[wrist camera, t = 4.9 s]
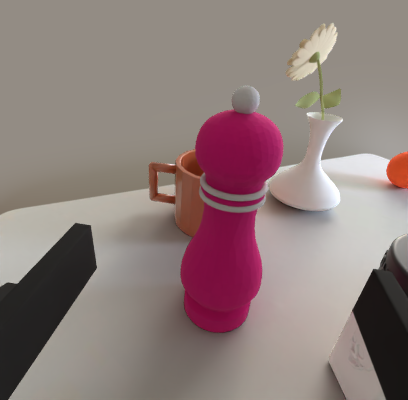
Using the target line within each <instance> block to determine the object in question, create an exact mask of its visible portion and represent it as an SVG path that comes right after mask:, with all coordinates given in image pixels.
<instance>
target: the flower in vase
mask: <svg viewBox="0 0 408 400" xmlns="http://www.w3.org/2000/svg"><path fill="white" fill-rule="evenodd" d="M335 32H336V27H334V23H331V24H330V25H329V26H328V28H327V29H326V28H325V24H322V25H321V26H320V27H319V28H318V29H316V30H315V31H314V33H313V34H312V35H311V37H310V40H307V39H304V40H302V42H301V43H300V49H298V51H297V52H295V53H294V54H293V55H292V58H291V59H289V60H288V62H287V65H292V66H291V67H290V68H289V69H288V70H287V71H286V74H287V76H288V77H292V81H293V80H295V79H296V81H297V80H299V79H301V78H304V77H306V76H307V75H308V73H309V74H311V73H313V72H314V70H315V69H316V68H318V71H319V79H320V95H319V94H318V93H317V92H311V93H309V94H307V95H305V96H303V97H302V98H301V99H300V100H299V101H298V102H297V104H296V105H295V106H297V107H300V108H308V107H310V106H311V105H312V104H314V103H315V102H316V101H317V100H318V99H319V98H320V101H321V109H322V110H321V111H322V113H316V112H311V113H307V118H308V120H309V123H310V139H309V145H308V149H307V152H306V155H305V157H304V160H303V161H302V162H301V163H300V164H298V165H296V166H294V167H292V168H289V169H287V170H285V171H282V172H280V173H279V174H277V175H275V176H274V177H273V178H272V179H271V181H270V182H269V189H270V191H271V193H272V195H273V196H274V197H275V198H276V199H278V200H279V201H281V202H283V203H285V204H287V205H289V206H292V207H295V208H298V209H302V210H308V211H326V210H329V209H332V208H333V207H335V206H336V205H338V204H339V202H340V193H339V191H338V189H337V188H336V186H335V185H334V183H333V182H332V181H331V180H330V179H329V177H328V176H327V175H326V174H325V173H324V171H323V170H322V168H321V165H320V161H321V155H322V152H323V149H324V146H325V144H326V141H327V139H328V137H329V135H330V134H331V132H332V131H333V129H334V128H335V127H336V126H337V125H338V124H339V123H341V122H342V121H343V119H342V118H341V117H338V116H335V115H331V114H326V113H324V108H330V107H334V106H337V105H339V103H340V100H341V89H338V90H336V91H333V92H331V93H329V94H326V95H324V96H323V81H322V72H321V63H322V62H323V61H325V60H326V58H327V54H328V53H329V52H330V51H331V50H332V48H333V45H334V44H335V42H336V40H337V39H335V38H336V37H337V35H338V33H335Z"/></svg>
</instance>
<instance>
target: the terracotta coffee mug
mask: <svg viewBox="0 0 408 400" xmlns="http://www.w3.org/2000/svg"><path fill="white" fill-rule="evenodd" d="M158 172H164V173H172V174H175V195H168V194H161V193H158ZM203 173H204V171H203V170H202V169H201V168H200V166H199V164H198V162H197V159H196V156H195V149H193V150H190V151H186V152H184V153H182V154H180V155H179V156H178V158H177V159H176V163H175V165H172V164H165V163H157V162H151V163H150V164H149V197H150V199H151V200H152V201H157V202H164V203H171V204H174V219H175V222H176V225H177V226H178V227H179V229H180V230H182V231H183V232H184V233H185V234H187V235H189V236H191V237H194V235H195V234H196V232H197V230H198V228H199V226H200V223H201V221H202V216H203V211H204V201H203V200H202V198H201V197H200V194H199V189H200V186H201V184H200V178H201V176H202V174H203Z"/></svg>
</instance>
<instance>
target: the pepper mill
mask: <svg viewBox="0 0 408 400" xmlns="http://www.w3.org/2000/svg"><path fill="white" fill-rule="evenodd" d="M259 101H260V97H259V93H258V92H257V90H256V89H254V88H253V87H251V86H242V87H239V88H238V89H237V90H236V91H235V92H234V94H233V96H232V106H233V108H234V110H227V111H224V112H220V113H218V114H216V115H214V116H212V117H210V118H209V119H208V120H207V121H206V122H205V123H204V124H203V126H202V127H201V129H200V131H199V134H198V136H197V140H196V146H195V156H196V159H197V162H198V164H199V166H200V168H201V169H202V170H203V171H204V173H203V174H202V176H201V178H200V184H201V186H200V189H199V194H200V197H201V198H202V200H203V201H204V211H203V216H202V221H201V223H200V226H199V228H198V230H197V232H196V234H195V235H194V237H193V238H192V240H191V242H190V243H189V245H188V246H187V248H186V251H185V254H184V256H183V259H182V264H181V274H180V275H181V281H182V284H183V286H184V288H185V296H184V307H185V311H186V313H187V315H188V317H189V318H190V319H191V321H192V322H193V323H195V324H196V325H197V326H199V327H200V328H202V329H204V330H207V331H210V332H220V333H223V332H228V331H231V330H234V329H236V328H237V327H239V326H240V325H241V324H242V323H243V322H244V321H245V319H246V317H247V315H248V311H249V307H250V302H251V300H252V299H253V298H254V297H255V296H256V294H257V293H258V291H259V288H260V285H261V279H262V262H261V257H260V254H259V250H258V247H257V243H256V239H255V229H254V227H255V216H256V213H257V209H258V208H260V207H261V206H263V204H264V203H265V200H266V196H265V194H266V192H267V190H268V185H267V182H266V180H267V179H269V178H270V177H272V176H273V175H274V174H275V173H276V171H277V170H278V168H279V166H280V164H281V160H282V156H283V140H282V136H281V133H280V131H279V129H278V128H277V126H276V125H275V124H274V123H273V122H272V121H271V120H270V119H268V118H267V117H265V116H263V115H261V114H259V113H256V112H254V111H255V110H256V109H257V108H258V106H259Z"/></svg>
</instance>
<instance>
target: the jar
mask: <svg viewBox="0 0 408 400" xmlns="http://www.w3.org/2000/svg"><path fill="white" fill-rule="evenodd" d="M378 270H384V271H390V272H392V273H393V275H394V277H395V278H396V280H397V282H398V283H399V285H400V286H401V288H402V290H403V291H404V293H405V295H406V296H407V298H408V234H405V235H402V236H400V237H398V238H397V239H395V240H394V241H393V243H392V244H391V246H390V248H389V250H387V251H386V253H385V255H384V257H383V259H382V261H381V263H380V267H379V269H378ZM328 361H329V363H330V365H331V368H332V370H333V372H334V374H335V376H336V378H337V380H338V382H339V384H340V387H341V389H342V391H343V393H344V395H345V397H346V399H347V400H386V399H385V396H384V393H383V391H382V388H381V386H380V383H379V380H378V378H377V375H376V372H375V370H374V367H373V364H372V362H371V359H370V356H369V354H368V351H367V348H366V346H365V343H364V340H363V338H362V335H361V333H360V330H359V327H358V325H357V322H356V319H355V317H354V314H353V311H352V312H351V314H350V316H349V318H348V320H347V322H346V324H345V326H344V328H343V330H342V332H341V334H340V336H339V338H338V340H337V342H336V344H335V346H334V348H333V350H332V352H331V354H330V356H329V358H328Z"/></svg>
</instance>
